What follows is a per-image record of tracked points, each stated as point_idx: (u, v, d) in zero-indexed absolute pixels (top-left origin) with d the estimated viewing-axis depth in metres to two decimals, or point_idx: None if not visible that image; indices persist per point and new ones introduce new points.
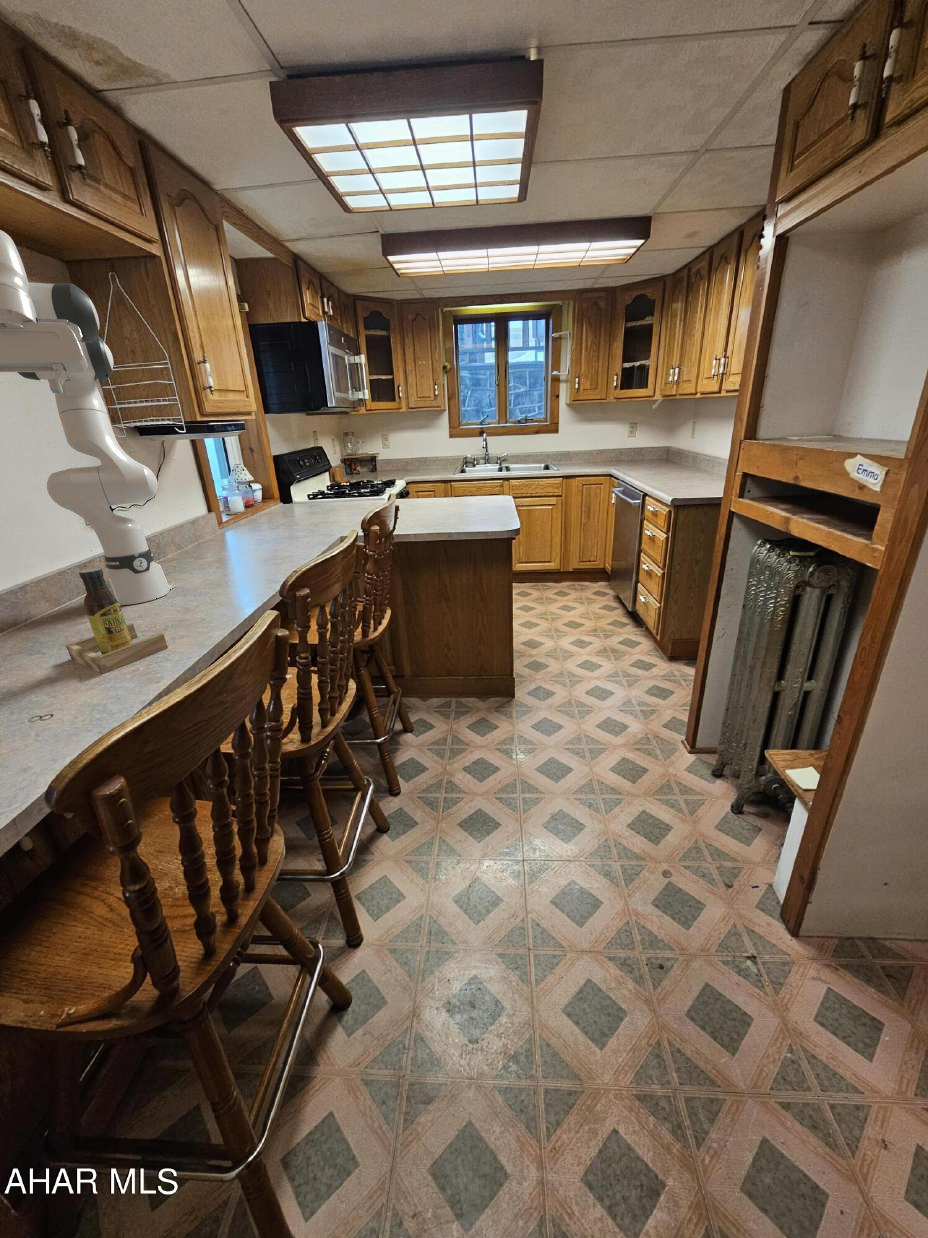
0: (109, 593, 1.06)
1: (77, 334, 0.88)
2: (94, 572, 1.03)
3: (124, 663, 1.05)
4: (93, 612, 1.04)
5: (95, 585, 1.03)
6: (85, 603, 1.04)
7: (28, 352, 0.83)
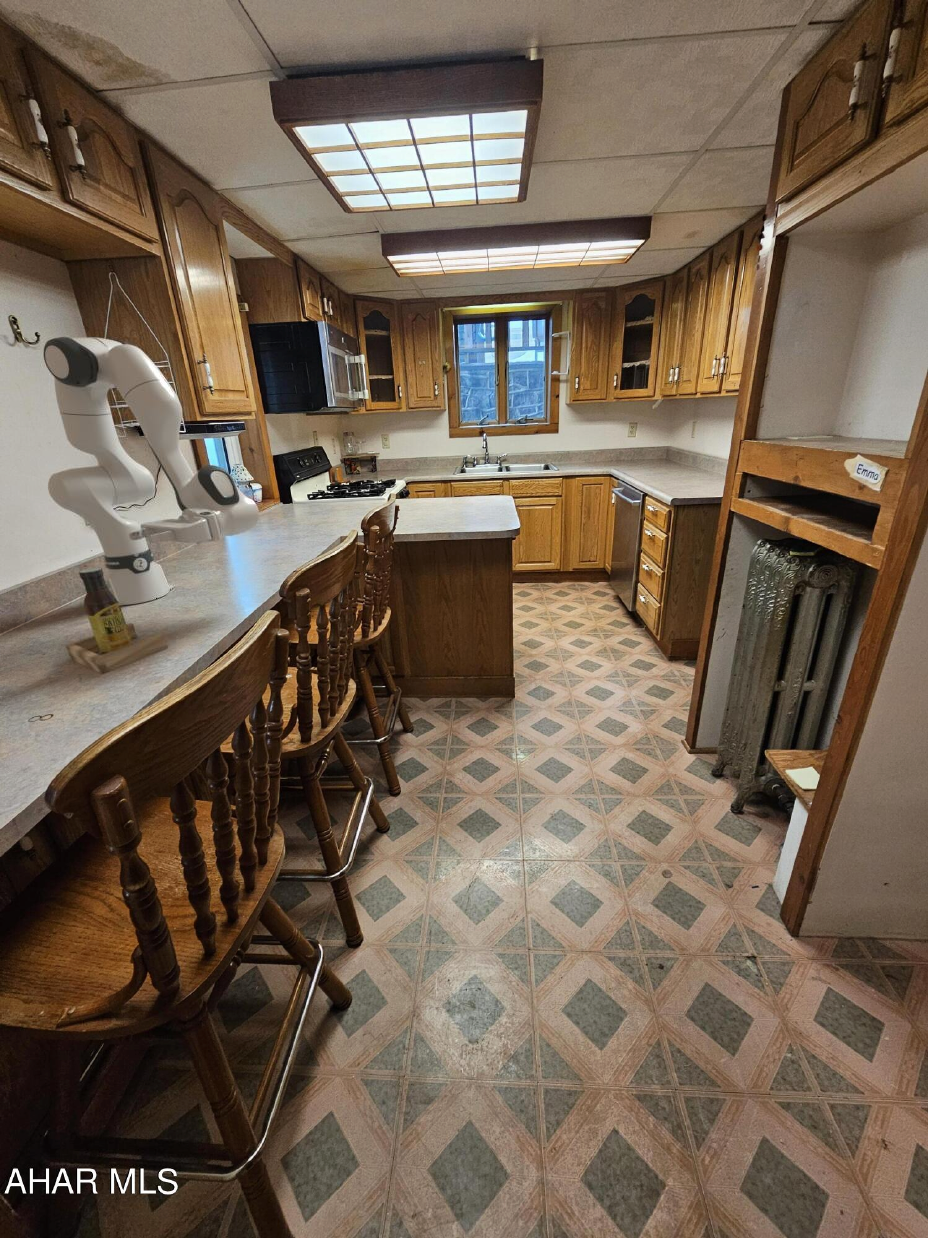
0: (109, 593, 1.06)
1: None
2: (94, 572, 1.03)
3: (124, 663, 1.05)
4: (93, 612, 1.04)
5: (95, 585, 1.03)
6: (85, 603, 1.04)
7: None
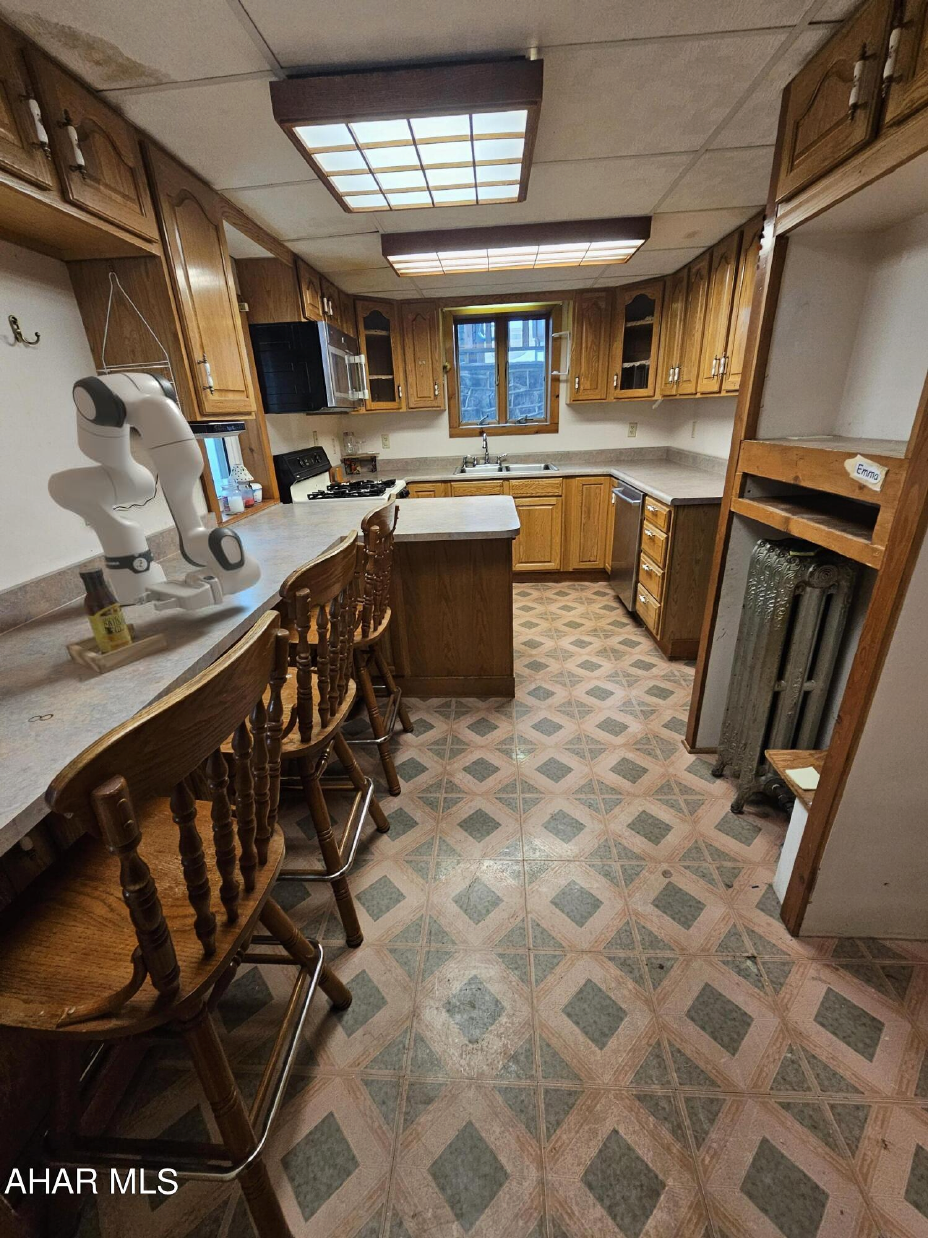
0: (109, 593, 1.06)
1: None
2: (94, 572, 1.03)
3: (124, 663, 1.05)
4: (93, 612, 1.04)
5: (95, 585, 1.03)
6: (85, 603, 1.04)
7: None
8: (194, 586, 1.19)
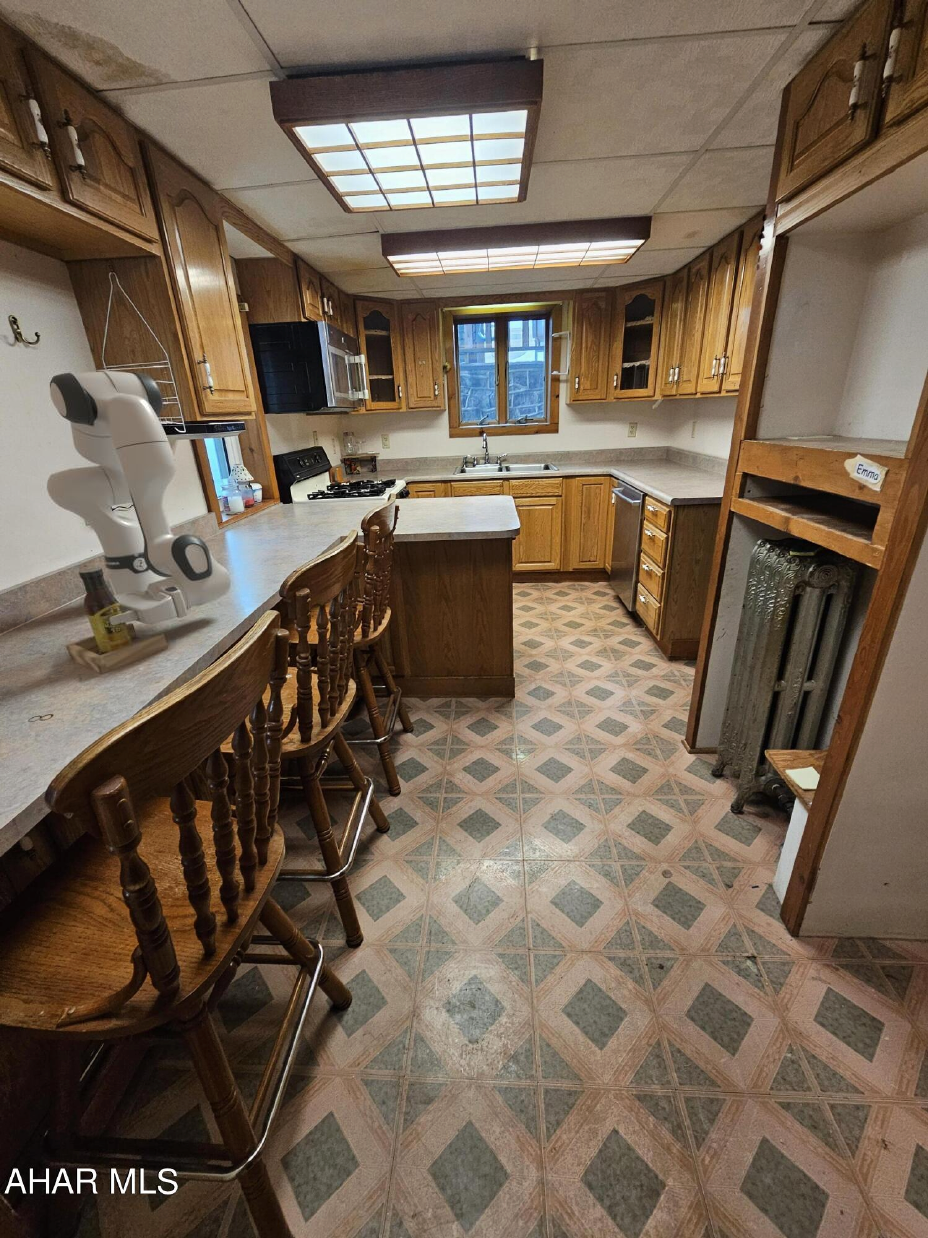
0: (109, 593, 1.06)
1: None
2: (94, 571, 1.03)
3: (124, 663, 1.05)
4: (93, 612, 1.04)
5: (94, 585, 1.03)
6: (85, 603, 1.04)
7: None
8: (155, 598, 1.12)
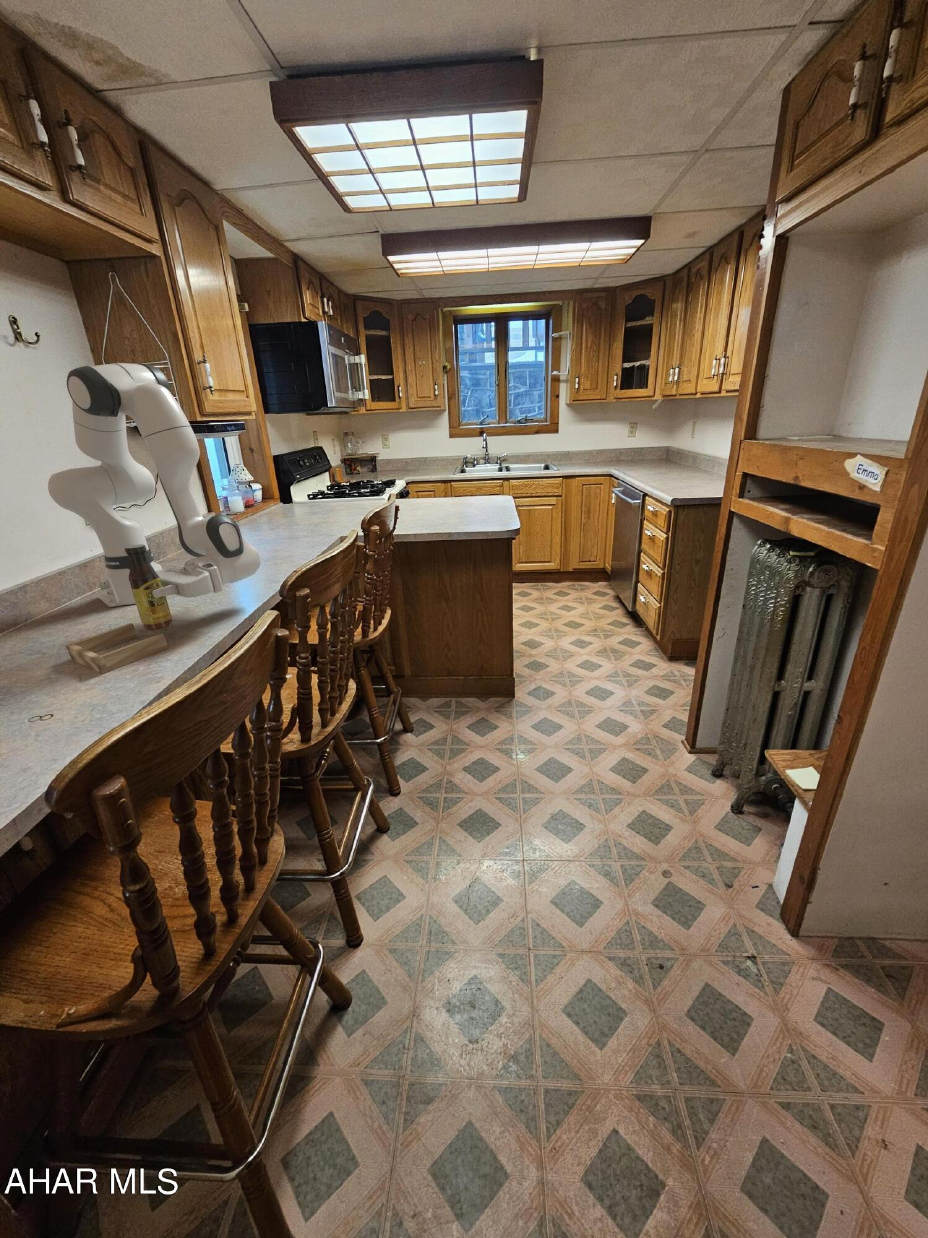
0: (152, 568, 1.12)
1: None
2: (139, 547, 1.09)
3: (124, 663, 1.05)
4: (138, 585, 1.10)
5: (139, 560, 1.10)
6: (130, 577, 1.10)
7: None
8: (193, 574, 1.18)
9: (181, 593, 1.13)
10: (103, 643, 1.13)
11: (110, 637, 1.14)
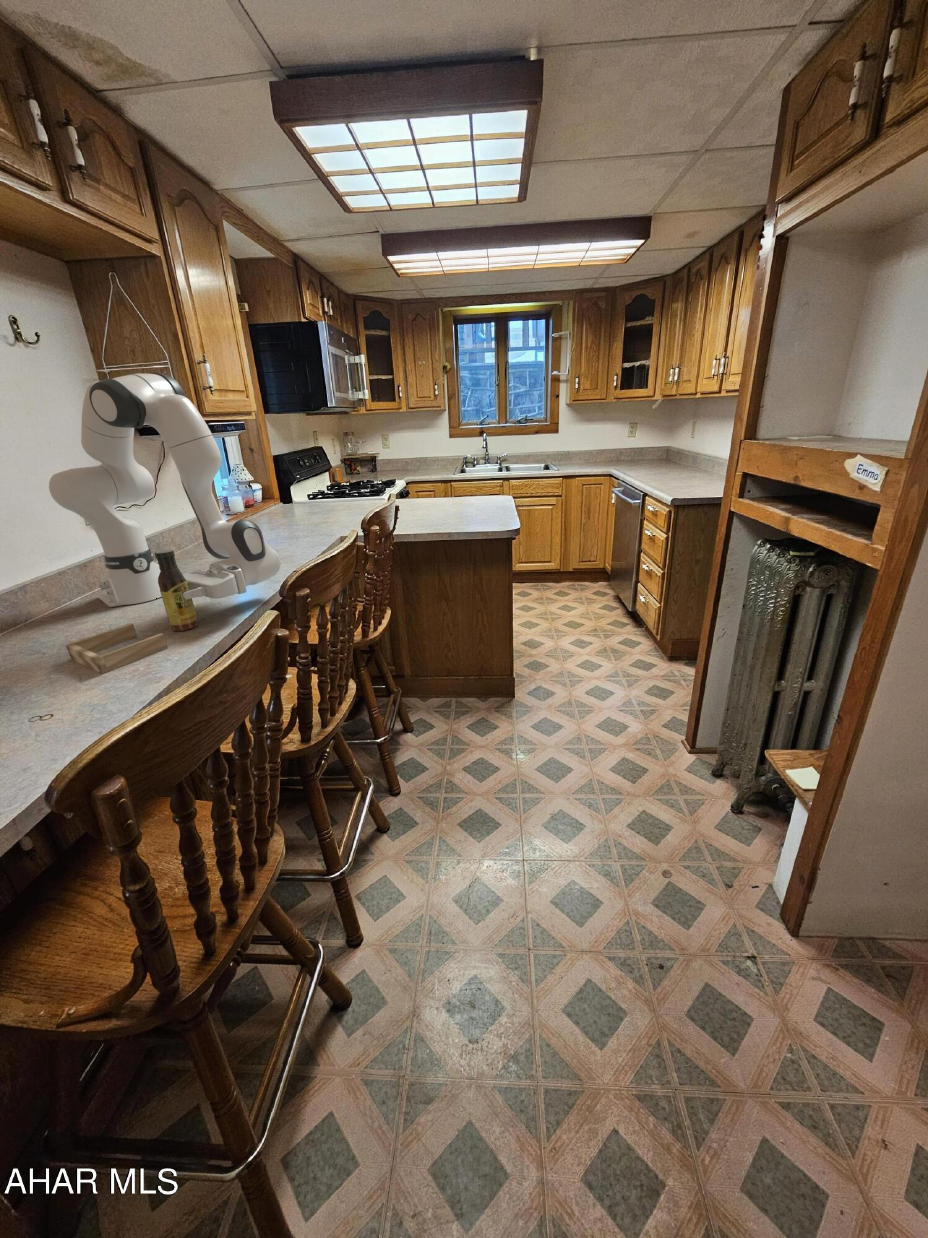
0: (179, 572, 1.18)
1: None
2: (168, 552, 1.15)
3: (124, 663, 1.05)
4: (167, 588, 1.17)
5: (168, 564, 1.16)
6: (159, 581, 1.17)
7: None
8: (219, 576, 1.24)
9: (208, 594, 1.19)
10: (103, 643, 1.13)
11: (110, 637, 1.14)
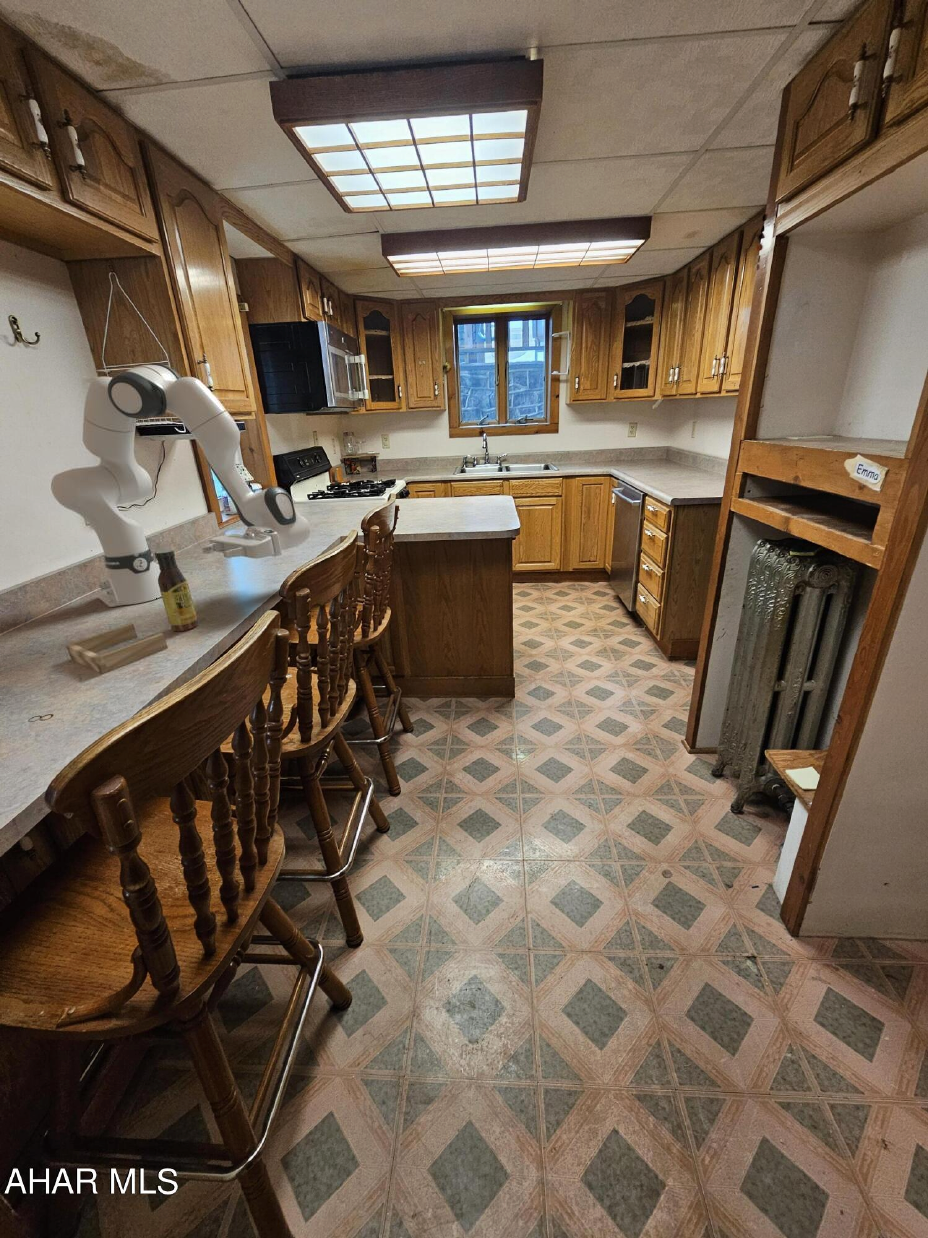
0: (179, 572, 1.18)
1: None
2: (168, 552, 1.15)
3: (124, 663, 1.05)
4: (167, 588, 1.17)
5: (168, 564, 1.16)
6: (159, 581, 1.17)
7: None
8: (256, 538, 1.31)
9: (248, 554, 1.26)
10: (103, 643, 1.13)
11: (110, 637, 1.14)
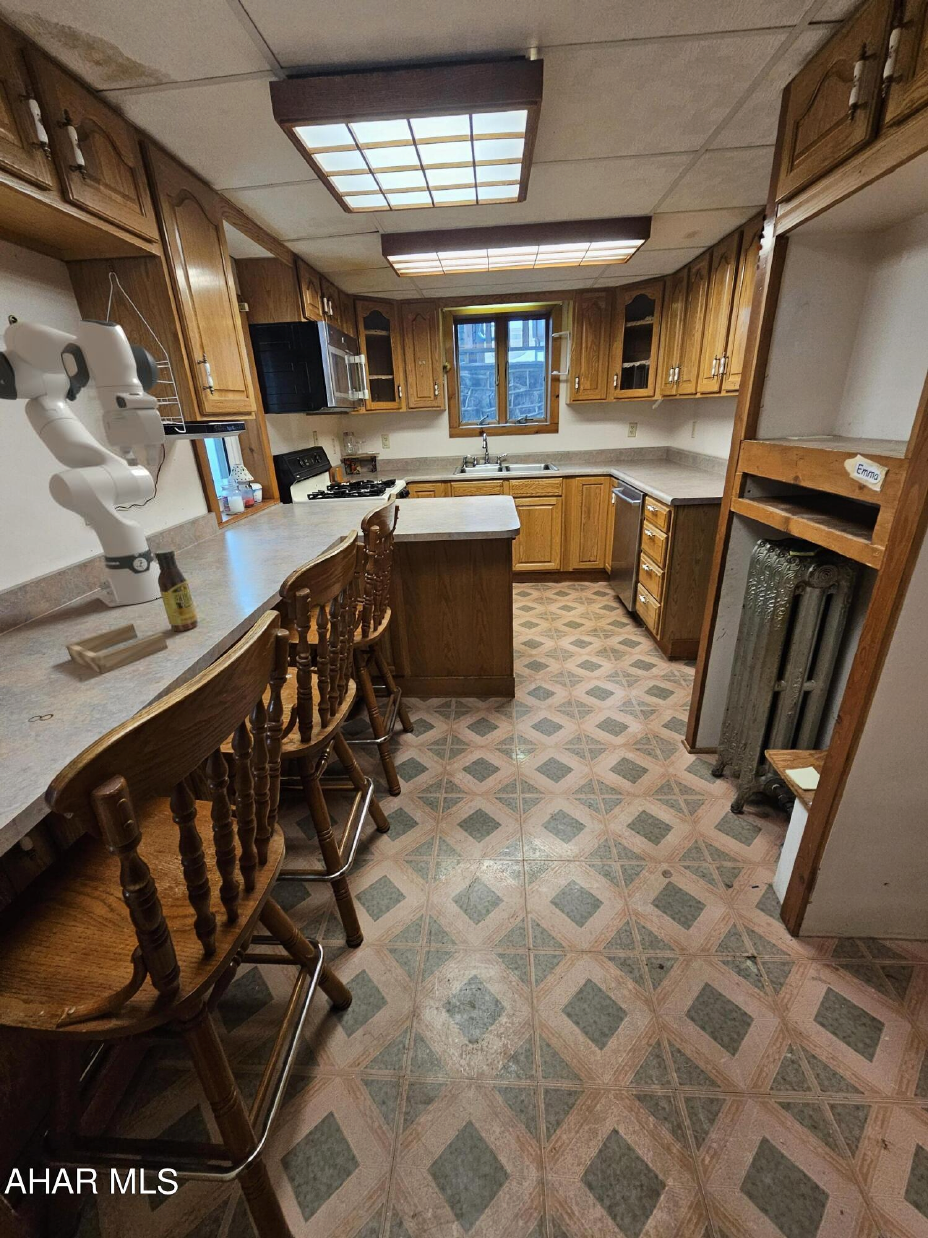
0: (179, 572, 1.18)
1: None
2: (168, 552, 1.15)
3: (124, 663, 1.05)
4: (167, 588, 1.17)
5: (168, 564, 1.16)
6: (159, 581, 1.17)
7: None
8: (128, 418, 1.07)
9: (156, 443, 1.09)
10: (103, 643, 1.13)
11: (110, 637, 1.14)
